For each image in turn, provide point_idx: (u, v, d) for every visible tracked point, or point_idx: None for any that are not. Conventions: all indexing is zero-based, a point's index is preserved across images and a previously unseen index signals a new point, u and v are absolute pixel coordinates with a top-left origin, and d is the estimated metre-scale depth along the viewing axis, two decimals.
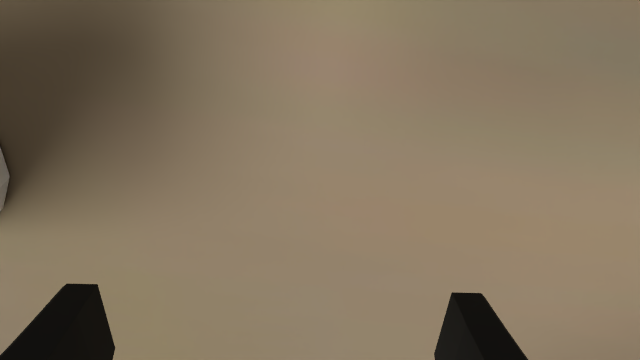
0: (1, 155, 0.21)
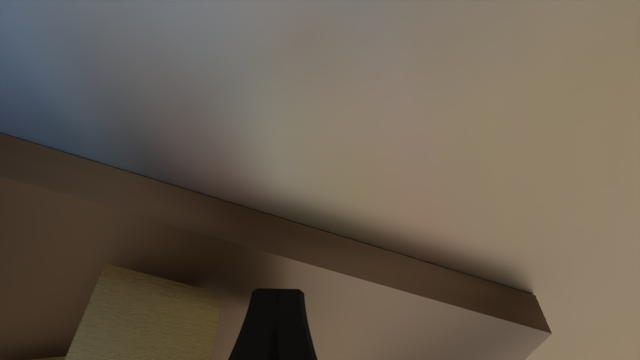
0: None
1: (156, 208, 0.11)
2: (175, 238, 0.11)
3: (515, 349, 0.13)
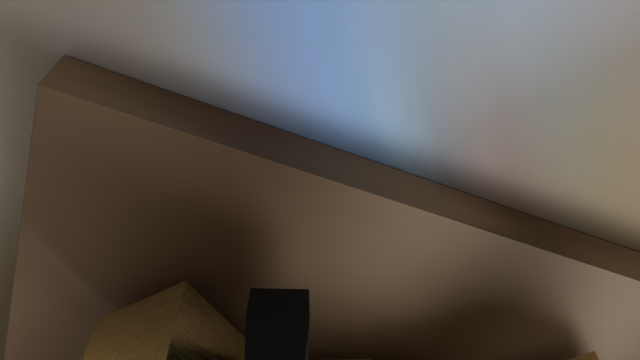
0: None
1: (464, 214, 0.11)
2: (481, 243, 0.11)
3: None
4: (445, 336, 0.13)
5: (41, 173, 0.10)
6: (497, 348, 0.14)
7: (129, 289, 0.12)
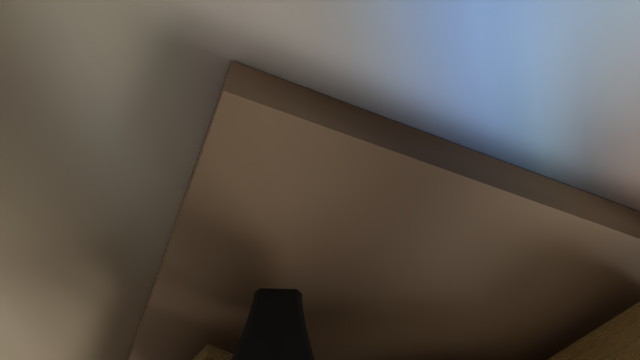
0: None
1: (612, 220, 0.11)
2: (628, 249, 0.11)
3: None
4: (571, 341, 0.13)
5: (206, 179, 0.10)
6: None
7: None
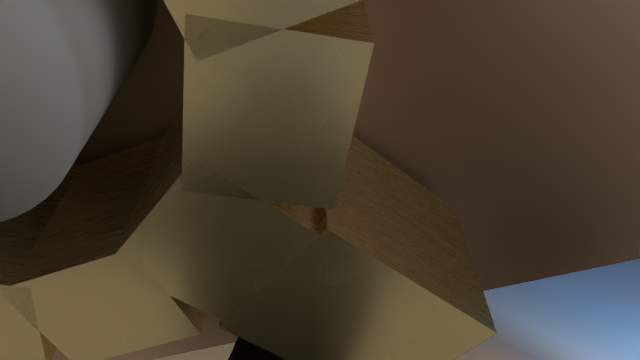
0: None
1: None
2: None
3: None
4: None
5: None
6: None
7: None
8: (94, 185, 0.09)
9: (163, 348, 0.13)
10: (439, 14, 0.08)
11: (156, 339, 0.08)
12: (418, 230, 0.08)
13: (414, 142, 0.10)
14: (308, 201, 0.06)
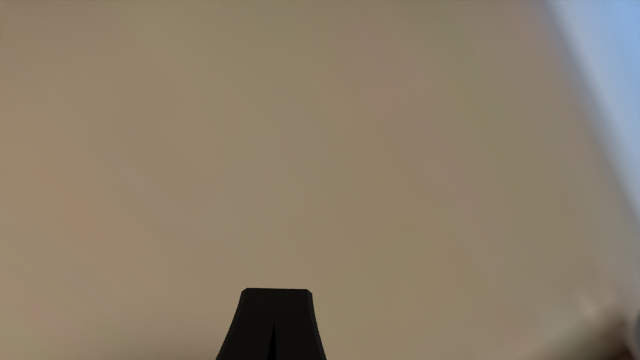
0: None
1: None
2: None
3: None
4: None
5: None
6: None
7: None
8: None
9: None
10: None
11: None
12: None
13: None
14: None
